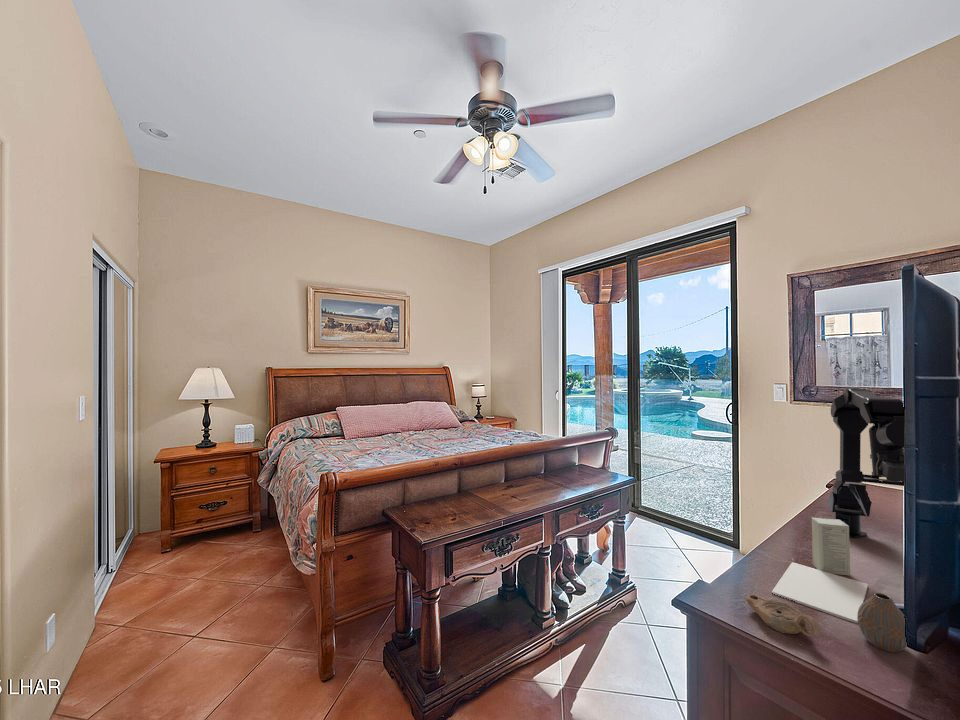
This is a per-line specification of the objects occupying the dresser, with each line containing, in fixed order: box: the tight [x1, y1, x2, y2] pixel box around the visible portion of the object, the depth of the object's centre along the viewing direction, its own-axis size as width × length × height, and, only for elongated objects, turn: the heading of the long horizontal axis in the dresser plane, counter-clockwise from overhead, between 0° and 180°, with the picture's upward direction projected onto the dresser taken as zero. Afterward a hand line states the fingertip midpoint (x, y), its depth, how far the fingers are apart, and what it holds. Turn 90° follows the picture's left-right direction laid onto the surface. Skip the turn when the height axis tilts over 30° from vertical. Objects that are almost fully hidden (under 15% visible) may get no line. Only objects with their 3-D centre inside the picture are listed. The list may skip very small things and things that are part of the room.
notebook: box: [771, 561, 869, 625], centre depth 91 cm, size 20×14×1 cm
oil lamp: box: [746, 594, 821, 638], centre depth 79 cm, size 13×8×5 cm, turn 14°
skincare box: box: [811, 516, 851, 577], centre depth 100 cm, size 6×4×12 cm
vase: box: [857, 592, 908, 653], centre depth 74 cm, size 7×7×9 cm
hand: (894, 519), depth 93 cm, fingers open, 9 cm apart
